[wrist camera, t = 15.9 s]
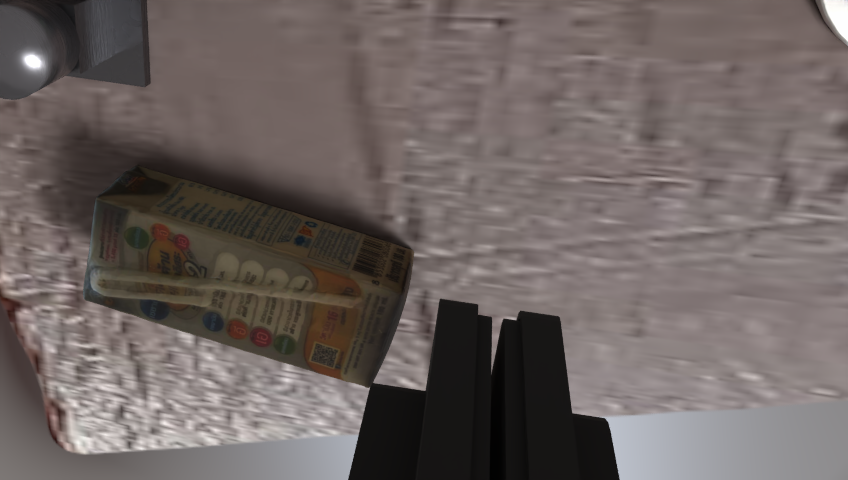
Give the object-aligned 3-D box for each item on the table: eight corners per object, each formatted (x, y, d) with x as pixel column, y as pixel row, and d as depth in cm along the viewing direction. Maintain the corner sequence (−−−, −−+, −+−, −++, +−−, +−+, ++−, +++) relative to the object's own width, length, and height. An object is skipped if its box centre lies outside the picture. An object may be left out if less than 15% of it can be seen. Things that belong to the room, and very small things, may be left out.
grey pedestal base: (144, -39, 43) (103, -25, 39) (150, 83, 46) (113, 109, 42) (22, -56, 43) (-33, -44, 39) (36, 66, 46) (-13, 90, 42)
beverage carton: (133, 154, 49) (84, 196, 43) (422, 243, 50) (412, 296, 44) (120, 258, 53) (73, 310, 47) (389, 338, 54) (375, 399, 48)
